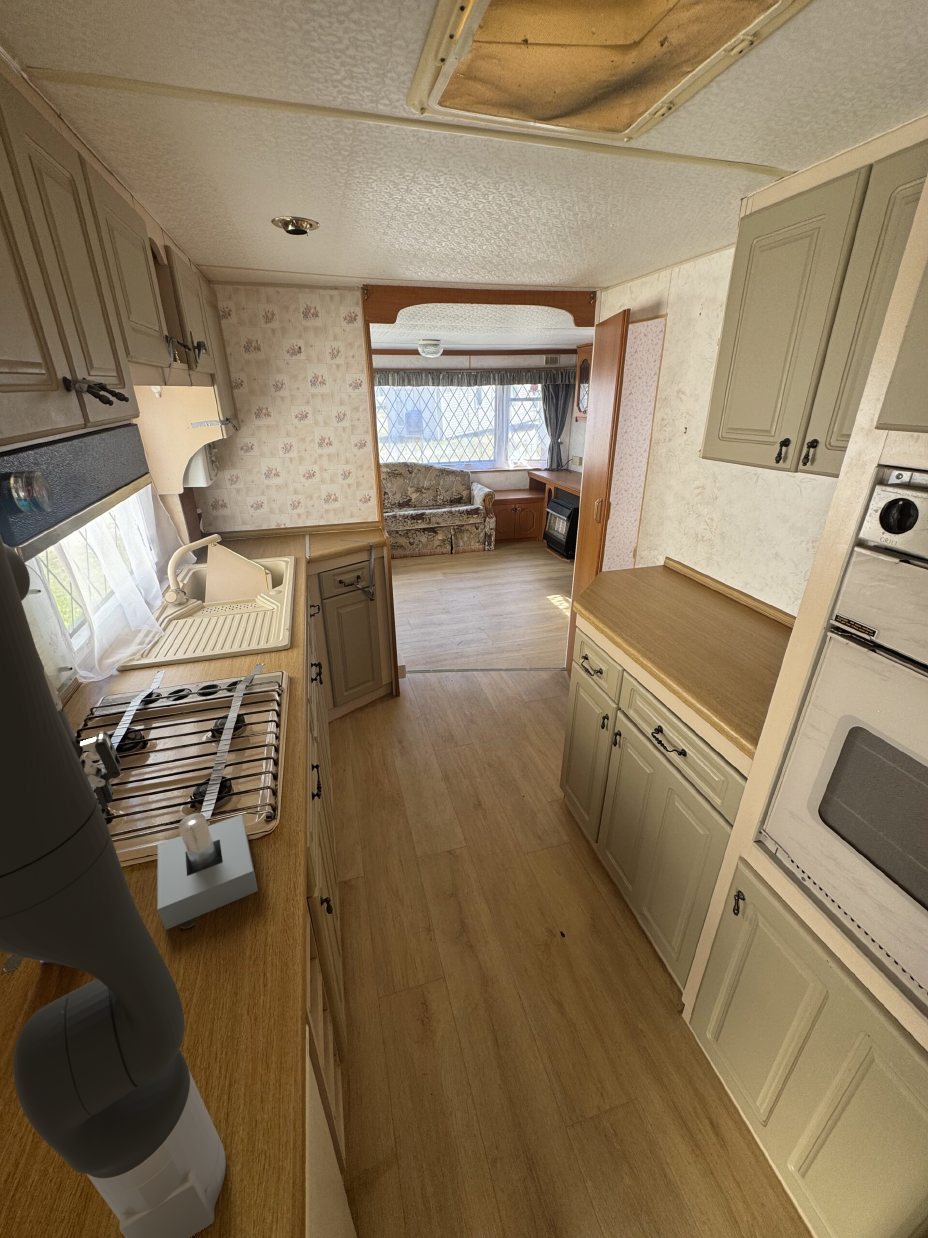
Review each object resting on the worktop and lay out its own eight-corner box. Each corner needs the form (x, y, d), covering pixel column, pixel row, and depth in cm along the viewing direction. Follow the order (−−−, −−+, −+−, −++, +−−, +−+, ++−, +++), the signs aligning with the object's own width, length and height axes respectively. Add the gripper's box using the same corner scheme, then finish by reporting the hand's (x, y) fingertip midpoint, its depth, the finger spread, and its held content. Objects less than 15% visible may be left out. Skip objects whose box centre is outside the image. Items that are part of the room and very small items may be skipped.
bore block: (258, 891, 86) (252, 871, 84) (165, 930, 80) (157, 909, 78) (246, 833, 97) (241, 814, 95) (164, 863, 91) (157, 844, 89)
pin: (221, 876, 88) (206, 826, 82) (196, 886, 86) (178, 835, 81) (219, 859, 91) (204, 809, 86) (195, 869, 89) (177, 819, 84)
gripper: (-73, 751, 52) (-11, 860, 59) (90, 712, 59) (130, 815, 65) (-50, 714, 58) (4, 817, 65) (97, 682, 64) (132, 779, 71)
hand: (67, 816), depth 65 cm, fingers open, 8 cm apart
